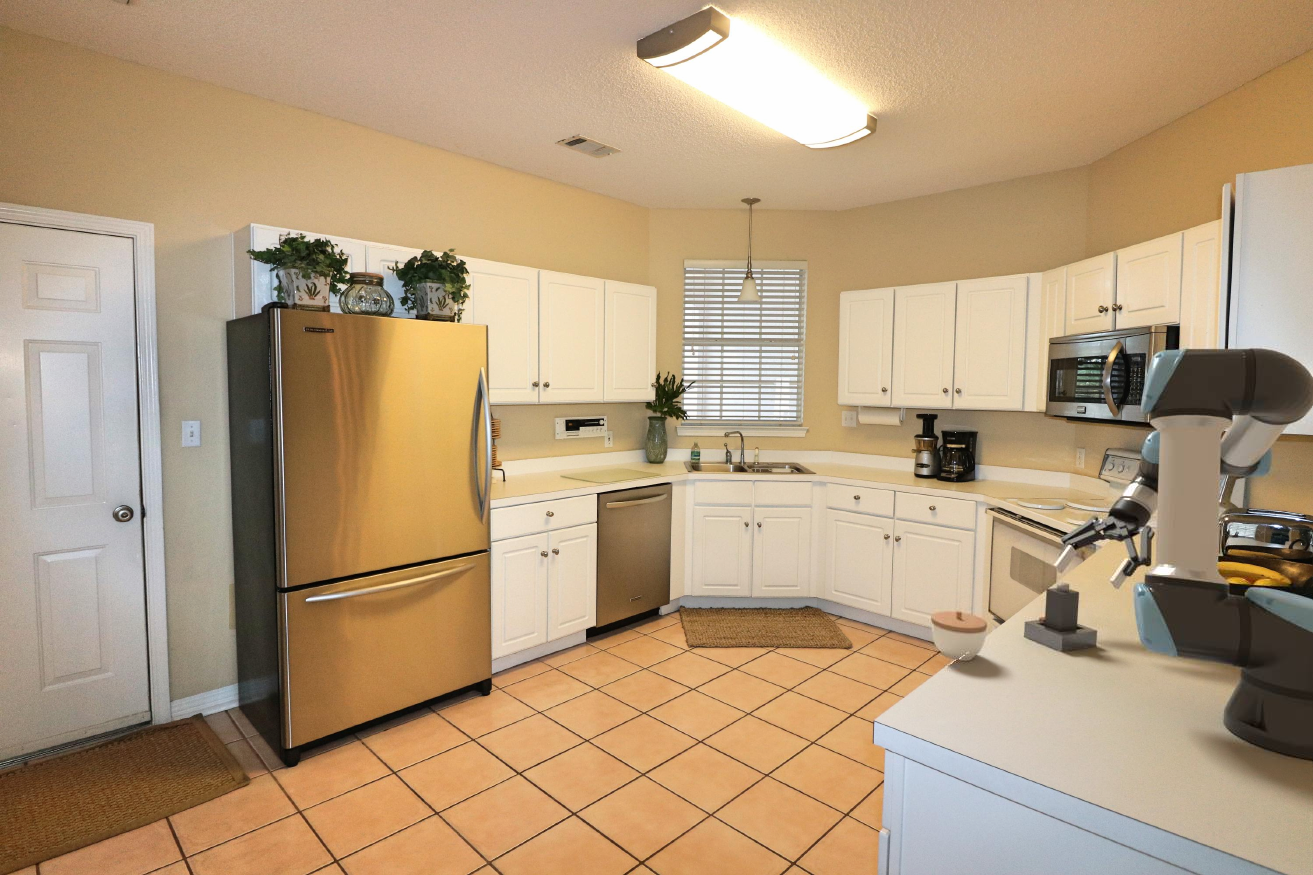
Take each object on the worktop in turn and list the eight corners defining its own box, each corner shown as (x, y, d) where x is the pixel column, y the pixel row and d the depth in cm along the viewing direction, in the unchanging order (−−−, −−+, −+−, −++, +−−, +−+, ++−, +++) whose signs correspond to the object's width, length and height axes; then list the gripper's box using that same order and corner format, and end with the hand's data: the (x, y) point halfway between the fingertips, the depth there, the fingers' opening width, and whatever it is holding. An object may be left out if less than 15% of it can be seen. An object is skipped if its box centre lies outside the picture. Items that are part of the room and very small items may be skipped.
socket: (1096, 645, 152) (1097, 627, 151) (1061, 651, 148) (1062, 633, 148) (1057, 631, 160) (1058, 614, 160) (1023, 636, 157) (1024, 619, 157)
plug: (1076, 640, 153) (1079, 585, 152) (1059, 643, 151) (1063, 587, 151) (1060, 634, 157) (1063, 580, 156) (1043, 636, 155) (1046, 582, 154)
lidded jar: (926, 658, 143) (928, 614, 142) (932, 642, 152) (934, 600, 152) (984, 669, 138) (986, 623, 137) (986, 651, 148) (988, 608, 147)
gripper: (1199, 529, 150) (1148, 603, 146) (1091, 510, 173) (1044, 573, 169) (1184, 506, 148) (1132, 580, 143) (1077, 489, 171) (1029, 553, 167)
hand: (1084, 576), depth 156 cm, fingers open, 13 cm apart
